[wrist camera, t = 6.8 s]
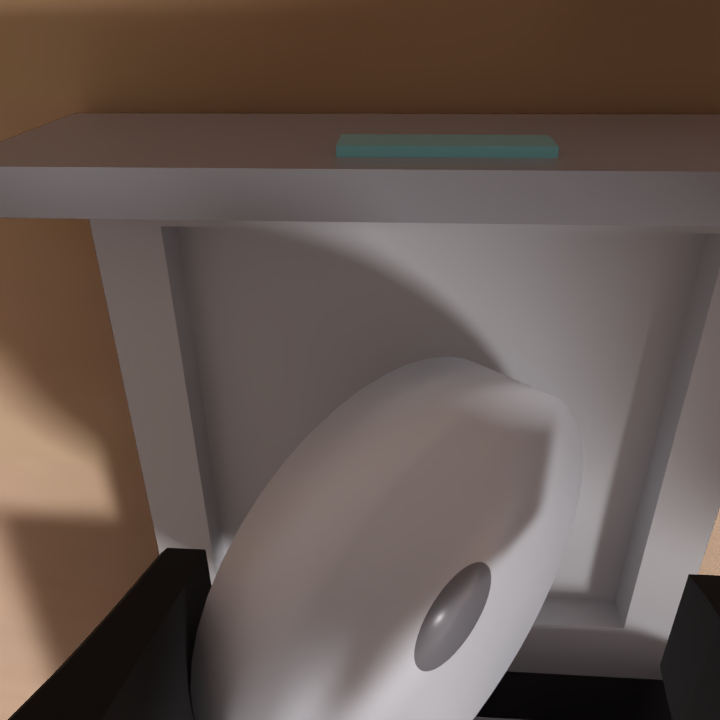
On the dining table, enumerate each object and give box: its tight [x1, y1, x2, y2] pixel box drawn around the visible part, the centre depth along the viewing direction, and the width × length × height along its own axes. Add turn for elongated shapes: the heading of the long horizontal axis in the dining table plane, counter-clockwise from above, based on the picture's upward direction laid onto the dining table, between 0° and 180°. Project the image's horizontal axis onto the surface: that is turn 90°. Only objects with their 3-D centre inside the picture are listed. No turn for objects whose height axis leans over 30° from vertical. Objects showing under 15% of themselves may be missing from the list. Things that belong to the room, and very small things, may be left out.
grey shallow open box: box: [0, 113, 720, 680], centre depth 14 cm, size 14×13×4 cm
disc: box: [190, 356, 583, 720], centre depth 12 cm, size 8×8×2 cm
